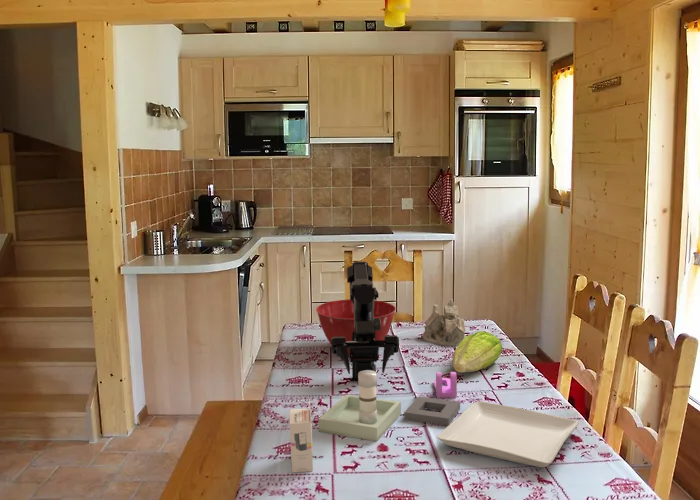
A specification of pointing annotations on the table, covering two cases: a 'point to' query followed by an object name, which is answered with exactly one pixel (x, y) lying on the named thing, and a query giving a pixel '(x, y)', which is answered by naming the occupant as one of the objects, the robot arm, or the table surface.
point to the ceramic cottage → (445, 326)
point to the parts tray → (346, 418)
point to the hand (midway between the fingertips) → (366, 372)
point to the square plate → (509, 433)
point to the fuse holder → (419, 414)
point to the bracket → (446, 390)
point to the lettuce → (476, 352)
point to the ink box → (301, 440)
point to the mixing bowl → (351, 318)
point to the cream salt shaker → (367, 396)
